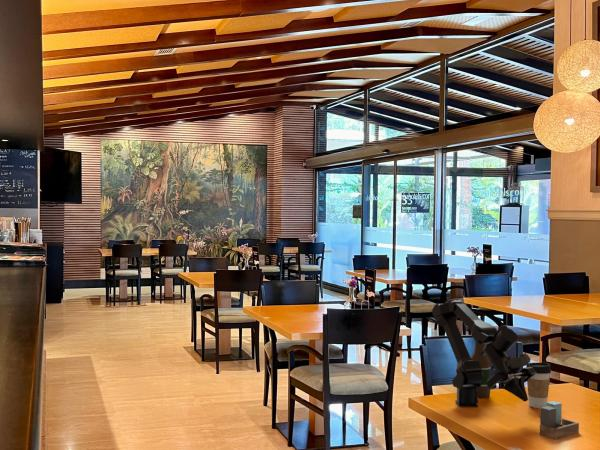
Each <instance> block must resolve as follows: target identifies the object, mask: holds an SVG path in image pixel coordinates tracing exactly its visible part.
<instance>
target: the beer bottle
mask: <svg viewBox="0 0 600 450" xmlns="http://www.w3.org/2000/svg"><path fill="white" fill-rule="evenodd" d="M474 342H475V343H474V350H473V351H474V352H473V353H472V355H471V356H470V357H471V359H473V360H478V361H479V364H480V367H481V368H482V372H483V380H482V384H481V387H480V388H479V387H477V392H478V399H487V398H489V397H490V396H491V390H490V389H489V388H488V386H487V380H488V379H489V378H490V377H491V376H492V375H491V372H492V371H491V369H492V368H491V367H492V366H491V365H492V363H491V362H490V360H489V359H488V357H487V356H486V355H483V356H481V350H482V349H481V348H482V347H486V344H478V343H477V342H476V341H475V340H474Z"/></svg>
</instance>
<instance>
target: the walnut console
mask: <svg viewBox="0 0 600 450" xmlns="http://www.w3.org/2000/svg"><path fill="white" fill-rule="evenodd" d="M579 430H580V423H579V422H576V421H573V420H569V419H566V418H561V424H560V423H556V428H551V427H548V426H545V425H542V424H539V435H540V436H543V437H546V438H549V439H553V440H559V439H563V438H566V437H569V436H573V435H577V434H579V432H580V431H579Z"/></svg>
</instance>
